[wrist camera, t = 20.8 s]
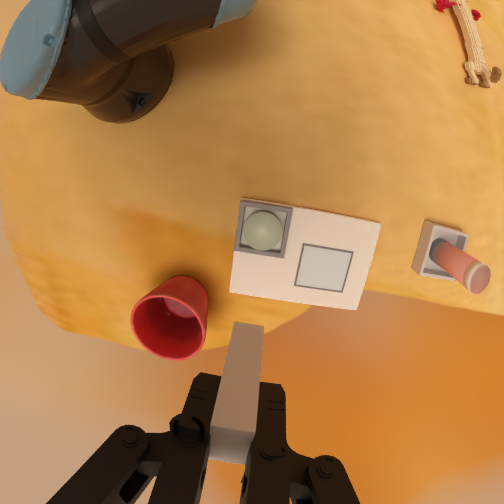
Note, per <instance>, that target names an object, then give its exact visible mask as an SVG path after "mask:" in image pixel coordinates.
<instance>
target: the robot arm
mask: <svg viewBox="0 0 504 504" xmlns="http://www.w3.org/2000/svg"><path fill="white" fill-rule="evenodd" d="M256 2H257V0H31V1H30V2H29V3H28V4H27V5H26V6H25V7H24V9H23V10H22V11H21V12H20V14H19V15H18V17H17V19H16V20H15V22H14V24H13V25H12V27H11V29H10V31H9V33H8V36H7V38H6V40H5V43H4V46H3V49H2V53H1V58H0V81H1V84H2V86H3V88H4V89H5V91H6V92H8V93H9V94H12V95H16V96H21V97H25V98H26V99H28V100H32V99H42V100H51V101H59V102H66V103H72V104H79V105H82V106H83V107H84V108H85V109H87V110H88V111H89V112H90V113H91V114H92V115H93V116H95V117H96V118H98V119H100V120H103V121H106V122H112V123H126V122H131V121H134V120H136V119H138V118H140V117H142V116H144V115H145V114H147V113H148V112H149V111H151V110H152V109H153V108H154V107H155V106H156V105H157V104H158V103H159V102H160V100H161V99H162V98H163V96H164V95H165V93H166V91H167V89H168V87H169V85H170V83H171V79H172V76H173V68H174V64H173V57H172V54H171V52H170V50H169V48H168V47H167V45H166V44H168V43H170V42H172V41H175V40H177V39H180V38H183V37H185V36H188V35H191V34H193V33H196V32H199V31H202V30H205V29H208V28H209V29H214V28H216V27H217V26H218V25H220V24H223V23H226V22H229V21H232V20H236V19H239V18H242V17H244V16H246V15H248V14H249V13H250V12H251V11H252V10H253V9H254V7H255V5H256ZM263 330H264V326H259V325H253V324H247V323H240V322H234V326H233V331H232V335H231V339H230V343H229V348H228V352H227V356H226V360H225V365H224V369H223V373H222V376H217V375H212V374H207V373H202V372H201V373H199V374H198V375H197V376H196V377H195V378H194V379H193V382H192V385H191V388H190V390H189V393H188V397H187V399H186V402H185V405H184V408H183V411H182V414H178V415H176V416H175V417H173V418H172V420H171V421H170V423H169V424H170V431H168V432H165V433H145V431H143V430H142V429H141V428H139V427H137V426H134V425H124V426H121V427H119V428H118V429H116V430H115V431H114V432H113V433H112V434H111V436H110V437H109V438H108V439H107V440H106V441H105V442H104V443H103V444H102V445H101V446H100V447H99V449H97V451H96V452H95V453H94V454H93V455H92V456H91V457H90V458H89V459H88V460H87V461H86V462H85V463H84V464H83V465H82V467H81V468H80V469H79V470H78V471H77V472H76V473H75V474H74V475H73V476H72V477H71V478H70V479H69V480H68V481H67V483H65V484H64V485H63V486H62V487H61V489H60V490H59V491H58V492H57V493H56V494H55V495H54V496H53V497H52V498H51V499H50V500H49V501H48V502H47V503H46V504H134V503H135V502H136V500H137V499H138V498H139V496H140V495H141V494H142V492H143V491H144V490H145V488H146V487H147V486H148V484H149V483H150V481H151V480H152V479H153V477H154V476H157V478H156V481H155V484H154V487H153V490H152V493H151V496H150V499H149V502H148V504H199V502H200V498H201V493H202V489H203V484H204V479H205V474H206V467H207V461H208V459H212V460H218V461H224V462H230V463H237V464H246V465H245V472H244V475H243V478H242V481H241V483H242V490H241V498H240V504H289V497H290V498H291V501H292V504H360V502H359V500H358V498H357V495H356V493H355V491H354V489H353V486H352V484H351V482H350V480H349V477H348V475H347V473H346V471H345V468H344V466H343V464H342V463H341V462H340V460H338V459H337V458H335V457H333V456H329V455H322V456H319V457H316V458H314V459H312V458H309V457H306V456H303V455H300V454H298V453H296V452H294V451H293V450H292V449H291V448H290V447H289V446H288V444H287V440H286V412H285V411H286V404H285V402H286V397H285V392H284V390H283V388H282V386H281V384H274V383H266V382H260V371H261V358H262V345H263Z"/></svg>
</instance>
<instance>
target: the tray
mask: <svg viewBox="0 0 504 504" xmlns="http://www.w3.org/2000/svg"><path fill="white" fill-rule="evenodd" d="M468 237H469V234H467V233H465V232H463V231H461V230H458V229H455V228H452V227H448V226H445V225H441V224H438V223H434V222H431V221H427V220H424V225H423V228H422V232H421V236H420V240H419V243H418V247H417V250H416V254H415V257H414V260H413V263H412V267H411V268H412V269H413V270H414V271H415V272H416V273H417V274H418V275H421V276H427V277H433V278H439V279H445V280H451V281H455V278H454V277H452V276H451V275H450V274H449V273H447V272H446V271H445V270H444V269H442V268H441V267H440V266H438V265H437V264H436V263H434V262H433V261H432V260H431V259H430V258H429V251H430V247H431V244H432V242H433V241H434V240H435V239H437V238H442V239H444V240H446V241H447V242H449V243H451V244H452V245H454V246H456V247H457V248H459V249H461V250H462V251H465V248H466V245H467V241H468Z"/></svg>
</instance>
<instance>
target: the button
mask: <svg viewBox="0 0 504 504" xmlns="http://www.w3.org/2000/svg"><path fill="white" fill-rule="evenodd" d="M243 235H244V238H245V241H246V242H247V243H248V245H249V246H251V247H252V248H254V249H256V250H261V251H265V250H270V249H272V248H274V247H275V246H276V245H277V244H278V243H279V241H280V240H281V237H282V226H281V222H280V220H279V218H278V217H277V216H276V215H275V214H273V213H272V212H269V211H265V210H261V211H256V212H254V213H253V214H251V215H250V216H249V217H248V219H247V220H246V222H245V225H244V228H243Z"/></svg>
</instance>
